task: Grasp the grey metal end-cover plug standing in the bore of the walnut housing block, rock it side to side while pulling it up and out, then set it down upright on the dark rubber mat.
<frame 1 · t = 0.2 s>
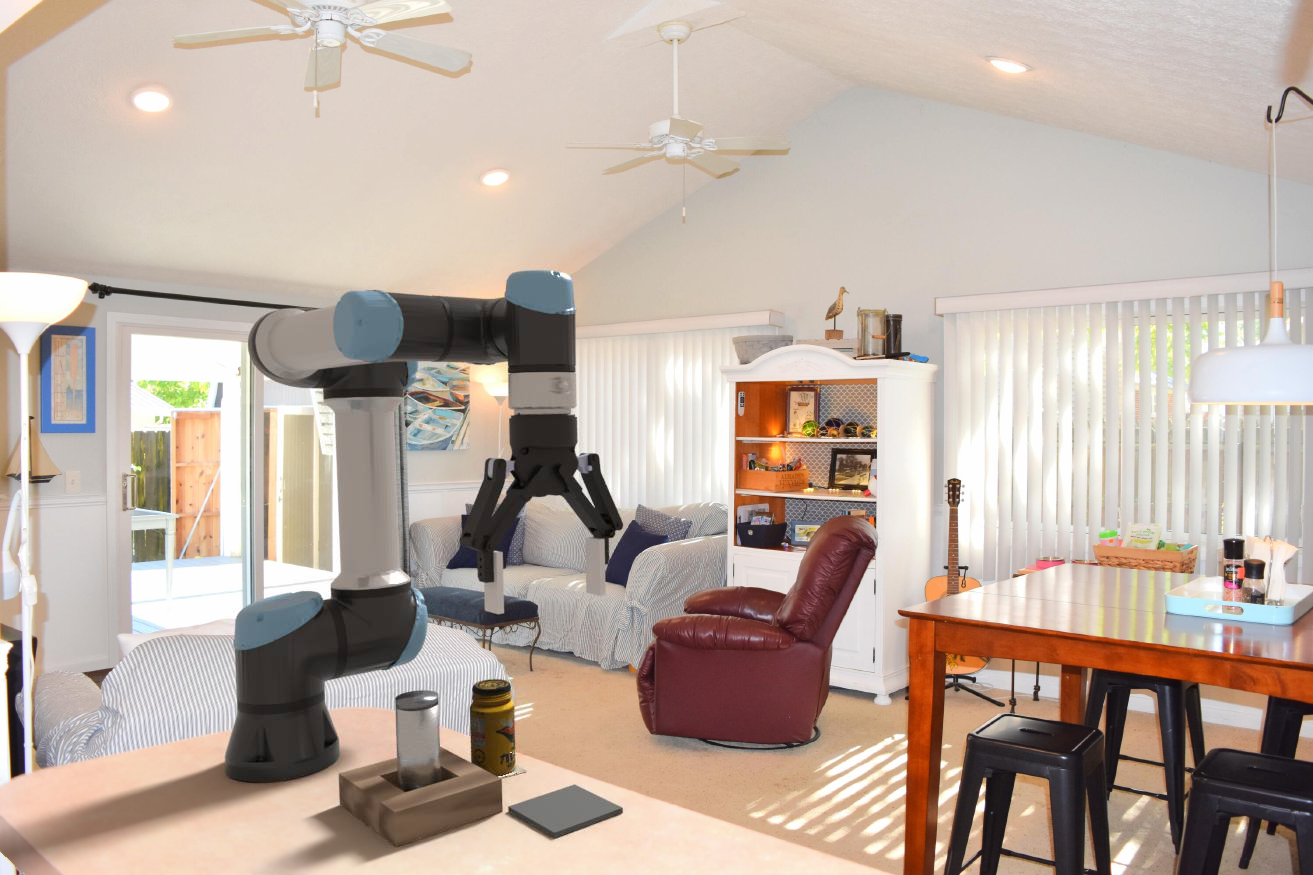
hand: (547, 602, 106), 28 cm above the kitchen counter, fingers open, 13 cm apart
housing: (420, 807, 118), on the kitchen counter
mat: (565, 811, 116), on the kitchen counter
plug: (418, 752, 118), in the housing
condiment: (487, 772, 130), on the kitchen counter
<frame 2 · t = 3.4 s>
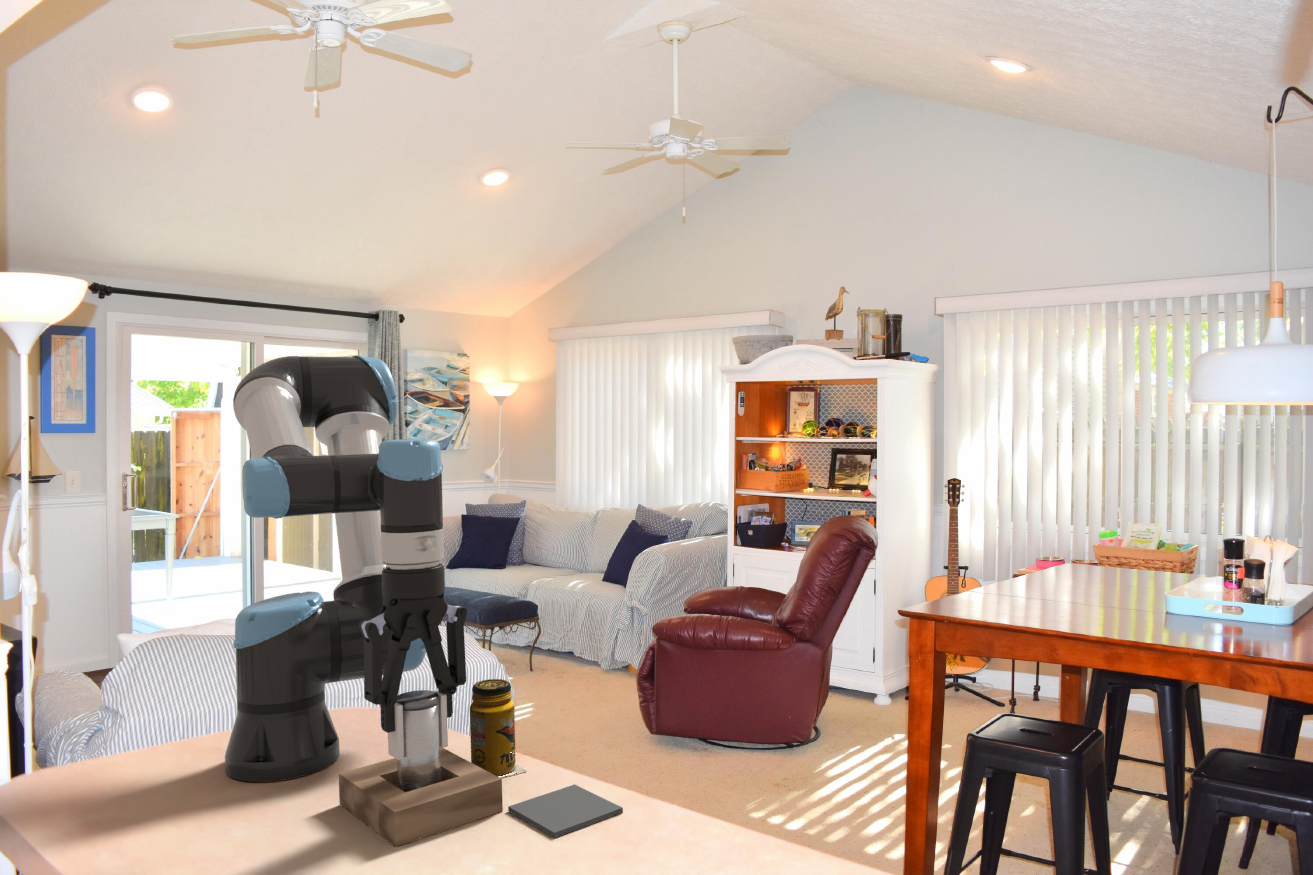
hand: (418, 749, 118), 7 cm above the kitchen counter, fingers closed on plug, 5 cm apart
plug: (418, 752, 118), in the housing, touching gripper
everything else where it was.
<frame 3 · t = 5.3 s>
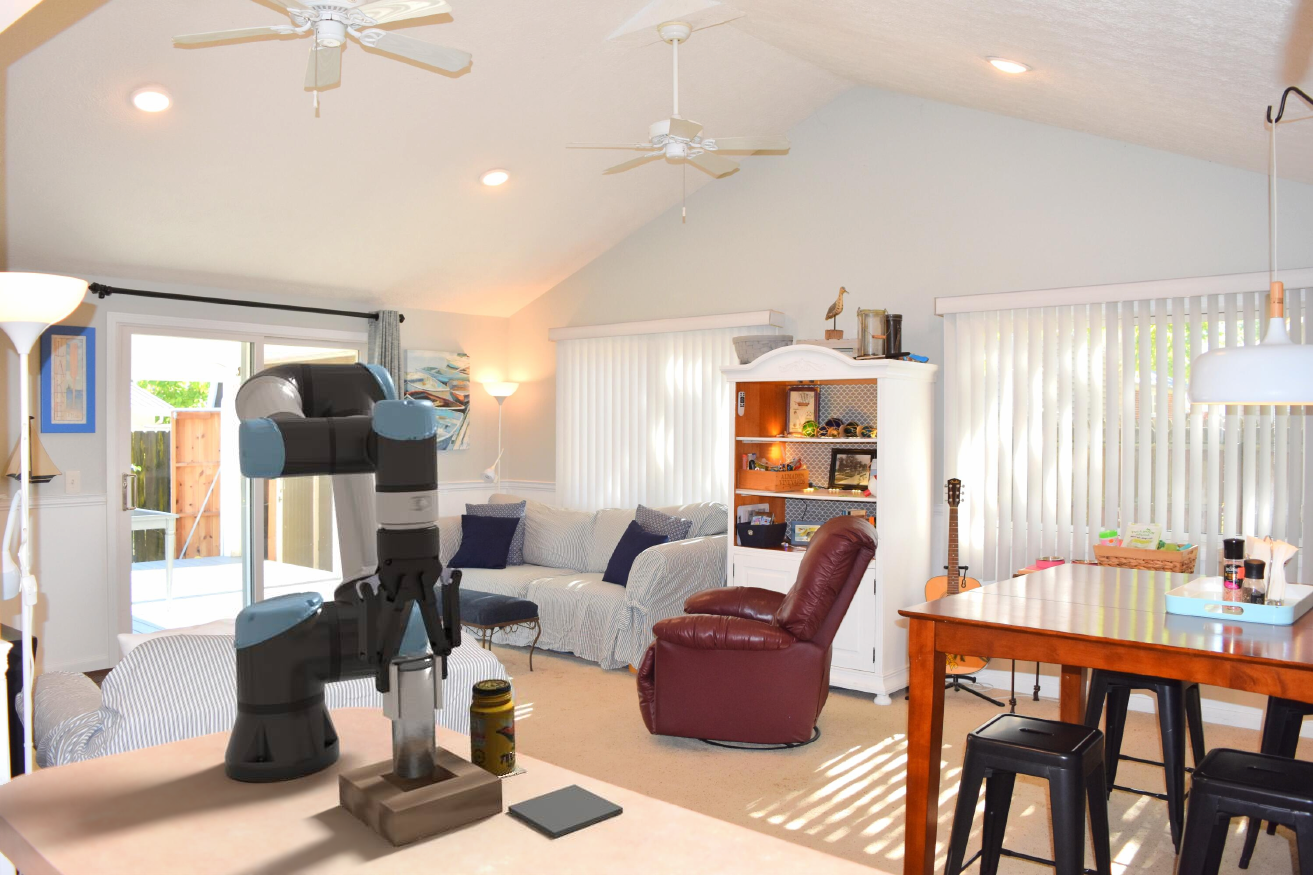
hand: (413, 711, 118), 12 cm above the kitchen counter, fingers closed on plug, 5 cm apart
plug: (413, 713, 118), point 12 cm above the kitchen counter, touching gripper
everything else where it was.
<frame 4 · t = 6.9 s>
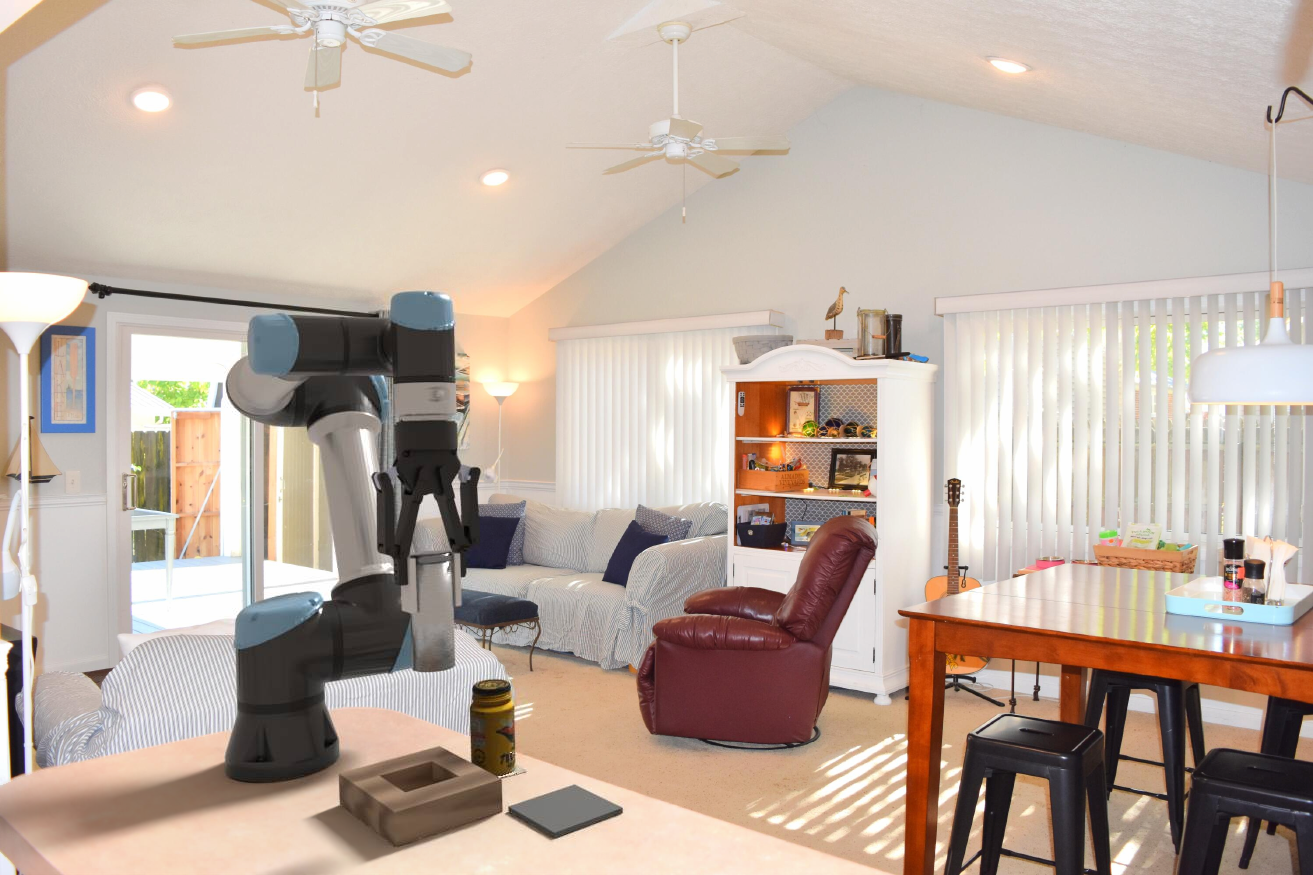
hand: (432, 607, 117), 25 cm above the kitchen counter, fingers closed on plug, 5 cm apart
plug: (431, 610, 117), point 25 cm above the kitchen counter, touching gripper
everything else where it was.
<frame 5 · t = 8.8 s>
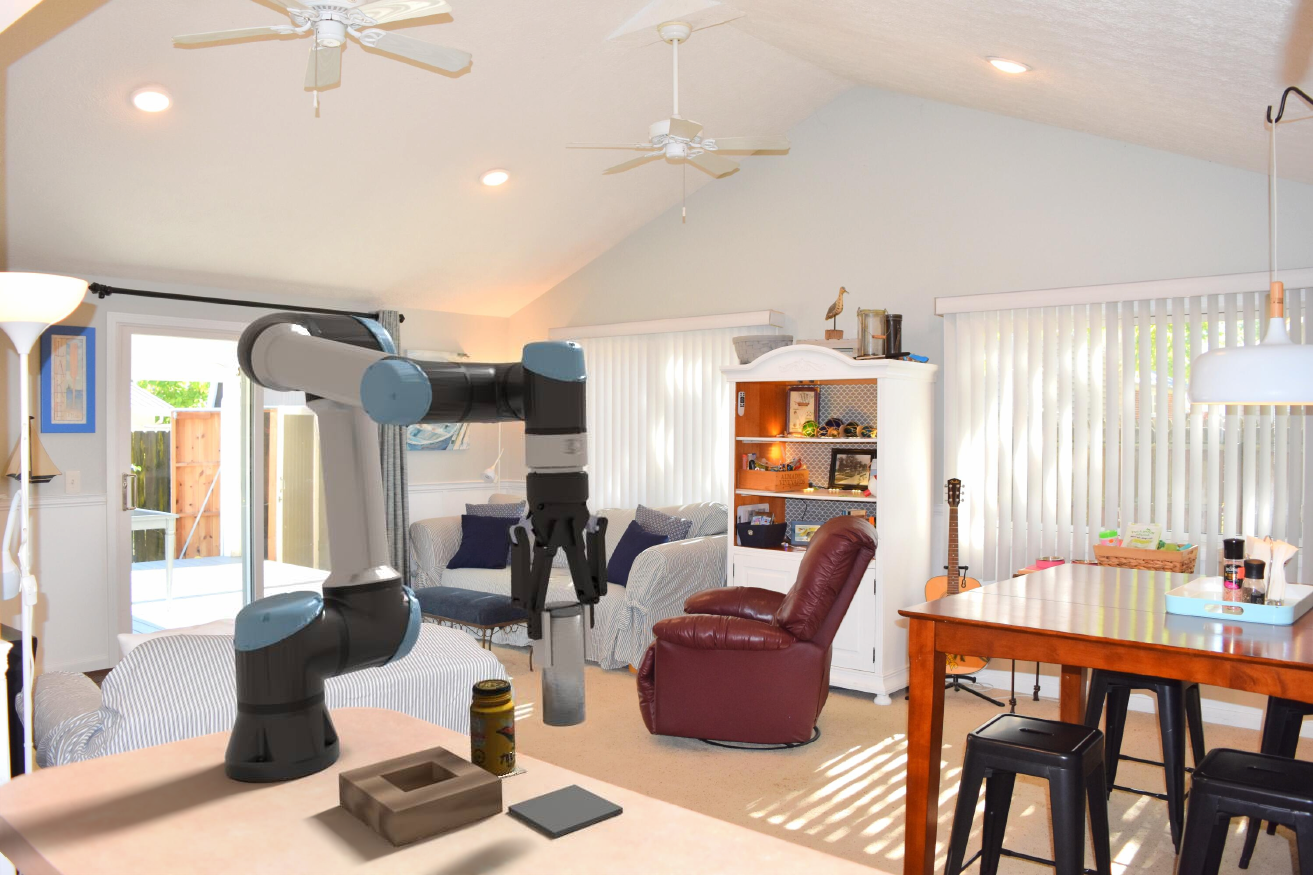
hand: (562, 660, 115), 19 cm above the kitchen counter, fingers closed on plug, 5 cm apart
plug: (562, 662, 115), point 18 cm above the kitchen counter, touching gripper
everything else where it was.
when the fingers open (9 cm above the kitchen counter, at t = 10.4 s): plug drops 1 cm, resting on mat.
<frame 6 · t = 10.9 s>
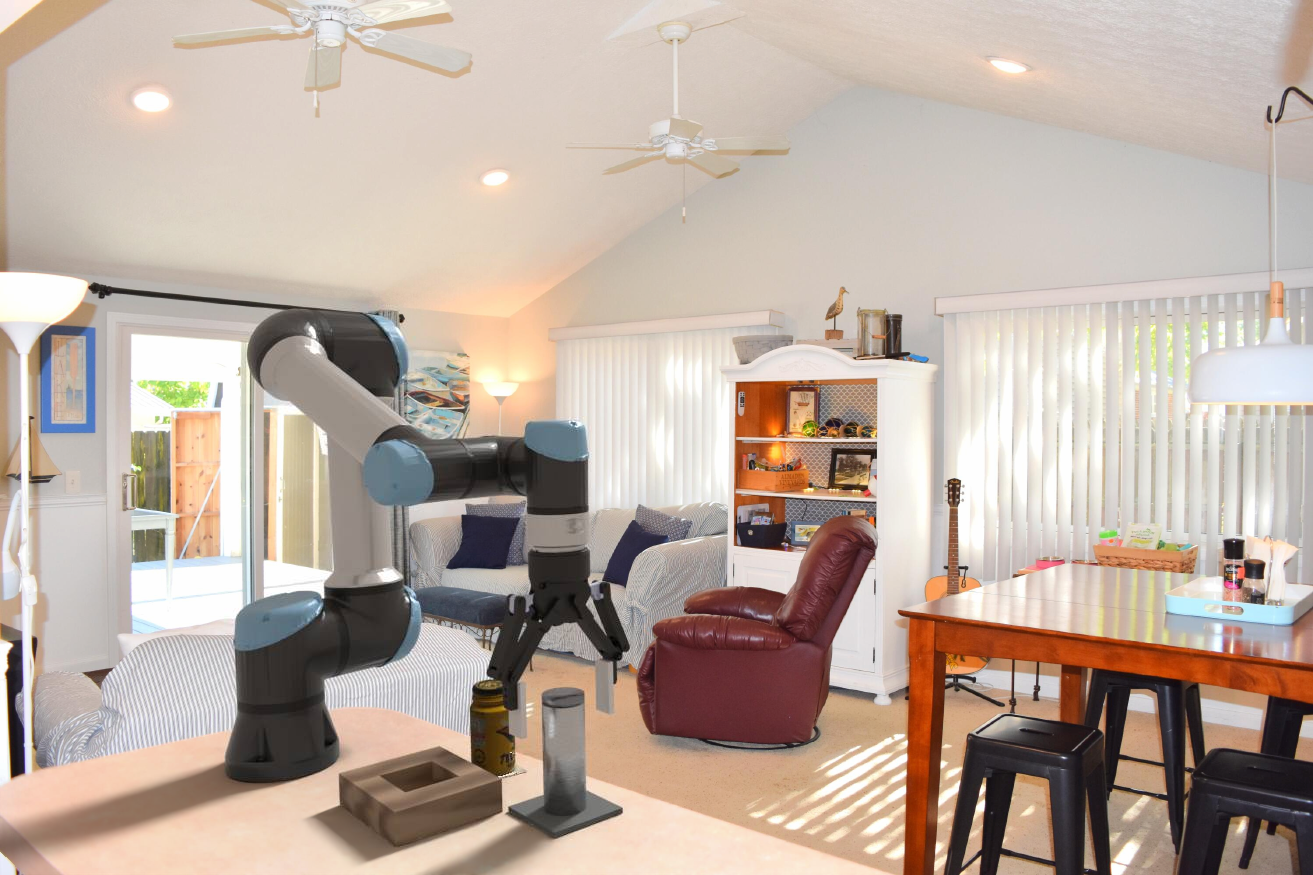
hand: (563, 723, 116), 11 cm above the kitchen counter, fingers open, 12 cm apart
plug: (564, 750, 116), on the mat, point 8 cm above the kitchen counter
everything else where it was.
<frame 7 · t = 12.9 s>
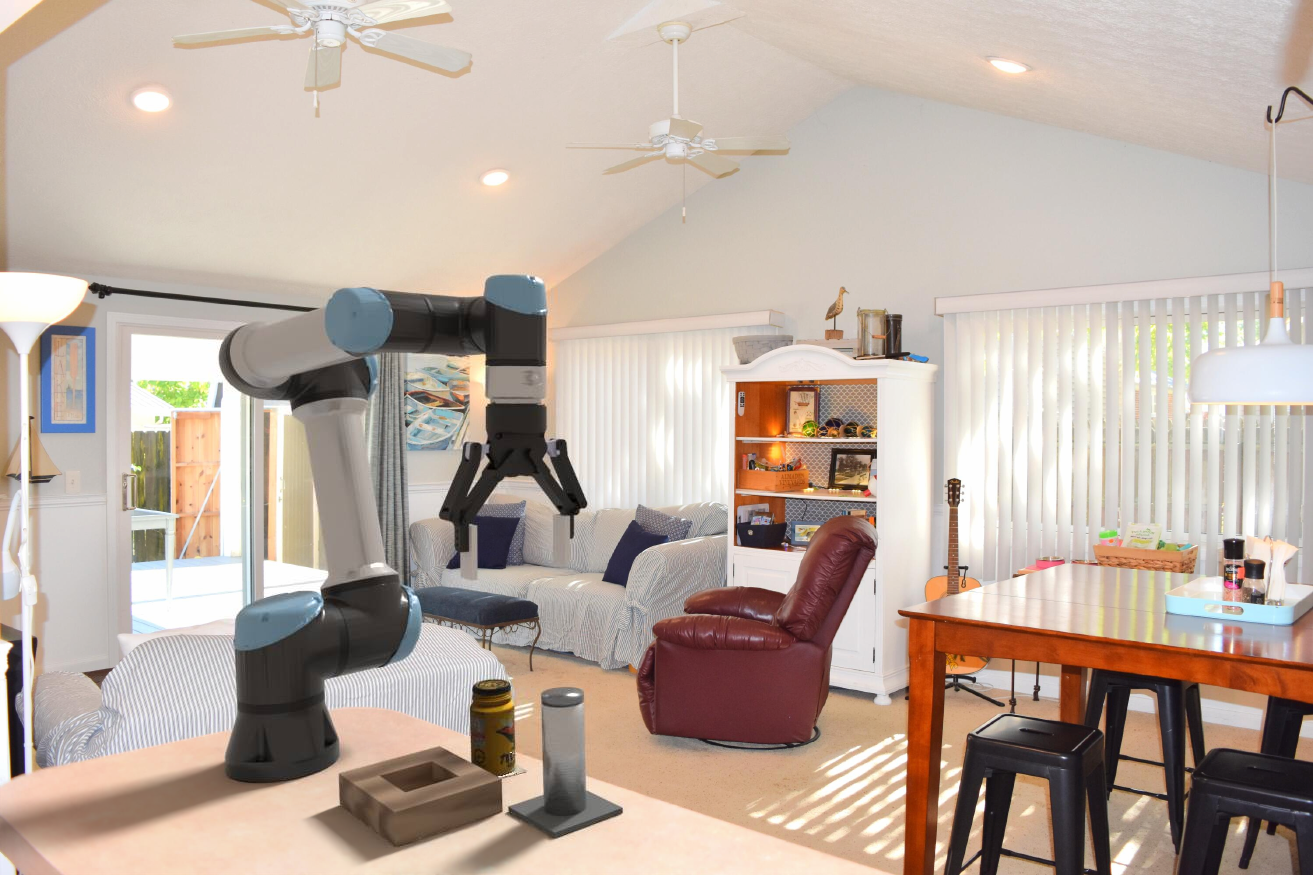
hand: (516, 571, 119), 29 cm above the kitchen counter, fingers open, 13 cm apart
nothing on the kitchen counter moved.
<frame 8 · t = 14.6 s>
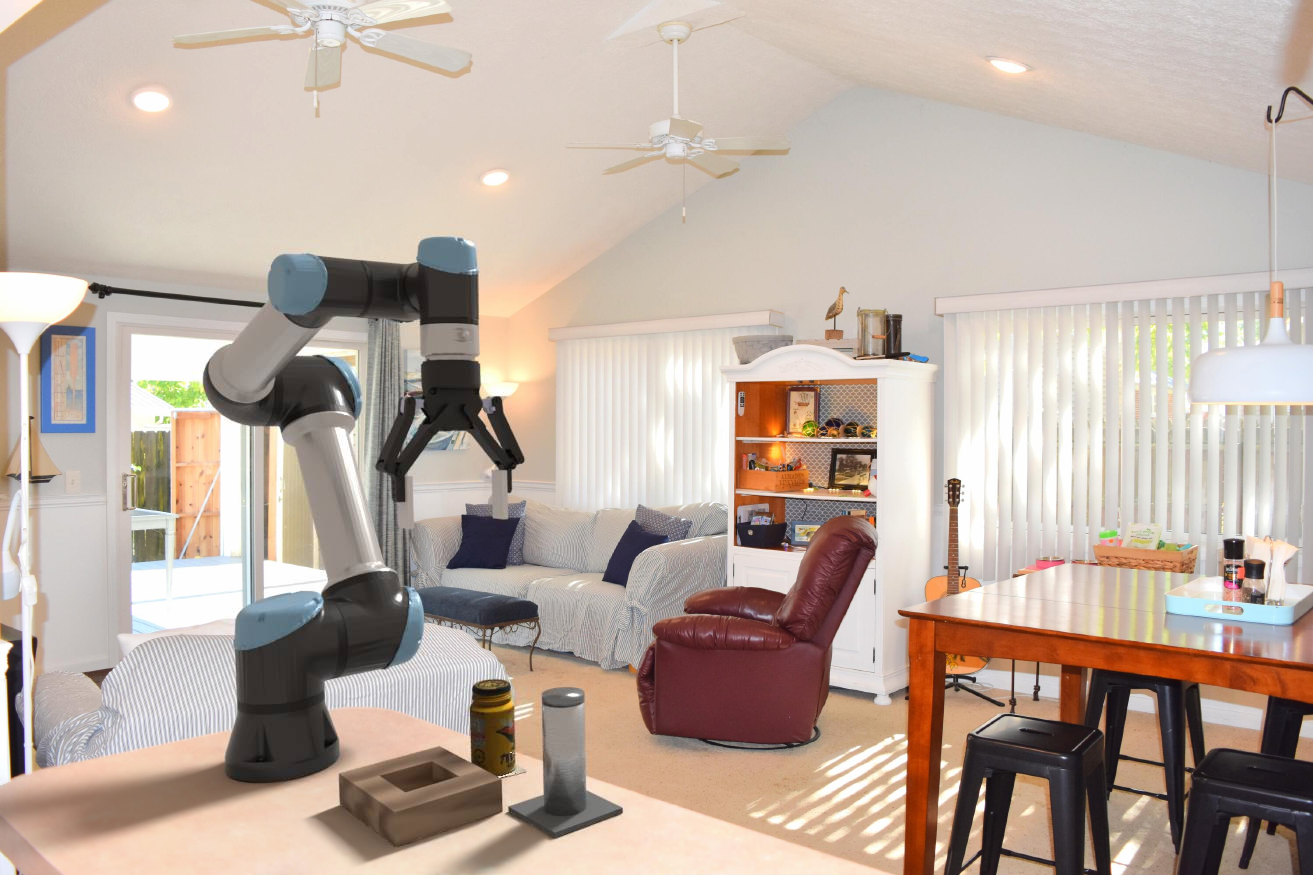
hand: (455, 523, 123), 35 cm above the kitchen counter, fingers open, 13 cm apart
nothing on the kitchen counter moved.
at the end: plug inside the target area on the mat (0.0 cm from its centre), point 7.6 cm above the mat's base; plug tilted 0°; plug touching mat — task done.
